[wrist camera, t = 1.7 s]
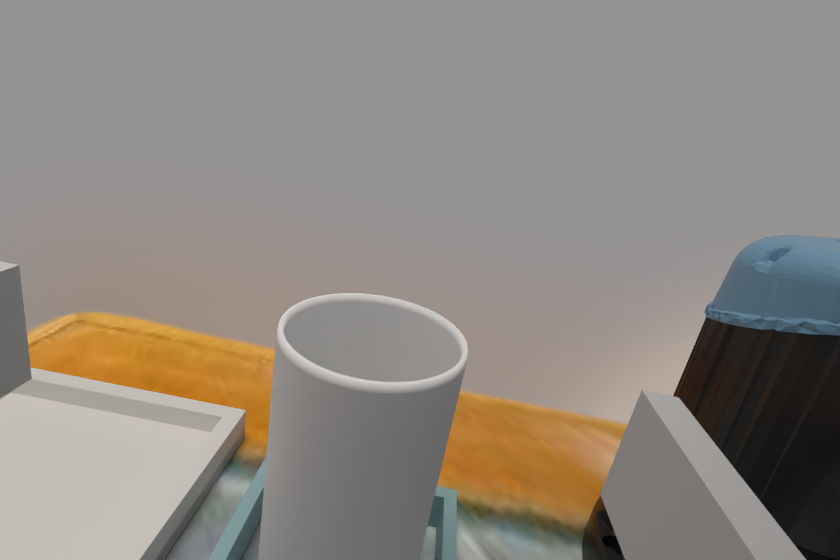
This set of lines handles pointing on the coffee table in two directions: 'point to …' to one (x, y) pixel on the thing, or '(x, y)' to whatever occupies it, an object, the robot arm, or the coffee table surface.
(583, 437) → the coffee table surface
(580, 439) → the coffee table surface
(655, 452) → the robot arm
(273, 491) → the cup
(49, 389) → the tray
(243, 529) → the collar
